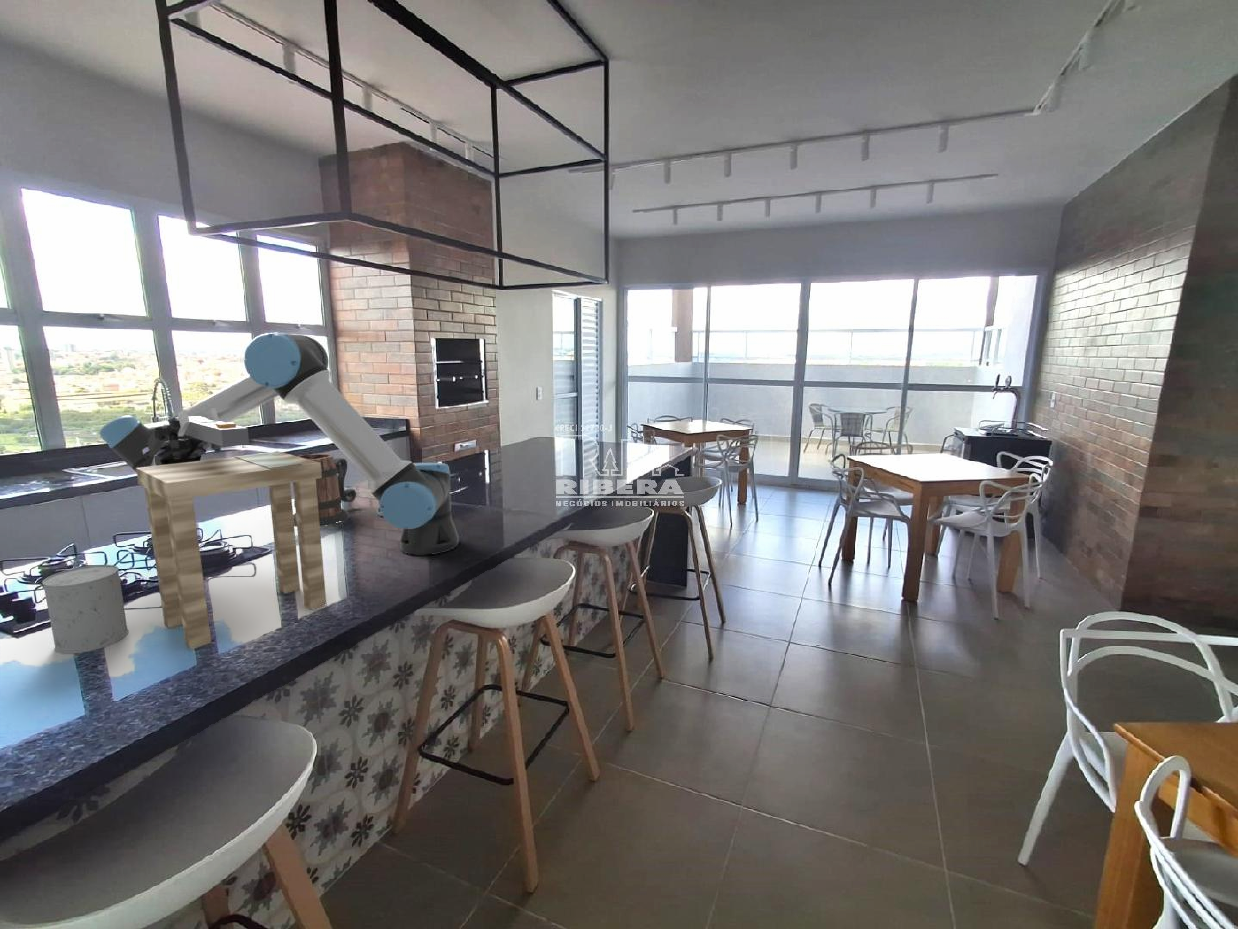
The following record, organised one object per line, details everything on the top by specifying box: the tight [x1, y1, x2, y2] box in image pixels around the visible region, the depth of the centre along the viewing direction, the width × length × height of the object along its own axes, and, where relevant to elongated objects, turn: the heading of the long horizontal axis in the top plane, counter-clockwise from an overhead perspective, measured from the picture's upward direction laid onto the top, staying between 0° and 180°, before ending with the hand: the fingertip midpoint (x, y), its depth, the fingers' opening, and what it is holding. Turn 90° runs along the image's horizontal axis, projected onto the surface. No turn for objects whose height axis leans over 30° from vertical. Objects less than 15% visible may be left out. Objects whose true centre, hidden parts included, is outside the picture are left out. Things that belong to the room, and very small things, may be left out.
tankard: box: [293, 453, 357, 528], centre depth 173 cm, size 24×17×20 cm
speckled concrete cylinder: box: [41, 564, 129, 655], centre depth 97 cm, size 10×10×12 cm
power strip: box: [175, 416, 250, 448], centre depth 104 cm, size 26×4×4 cm, turn 52°
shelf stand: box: [135, 451, 327, 650], centre depth 106 cm, size 18×24×30 cm
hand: (200, 415), depth 106 cm, fingers closed on power strip, 4 cm apart
